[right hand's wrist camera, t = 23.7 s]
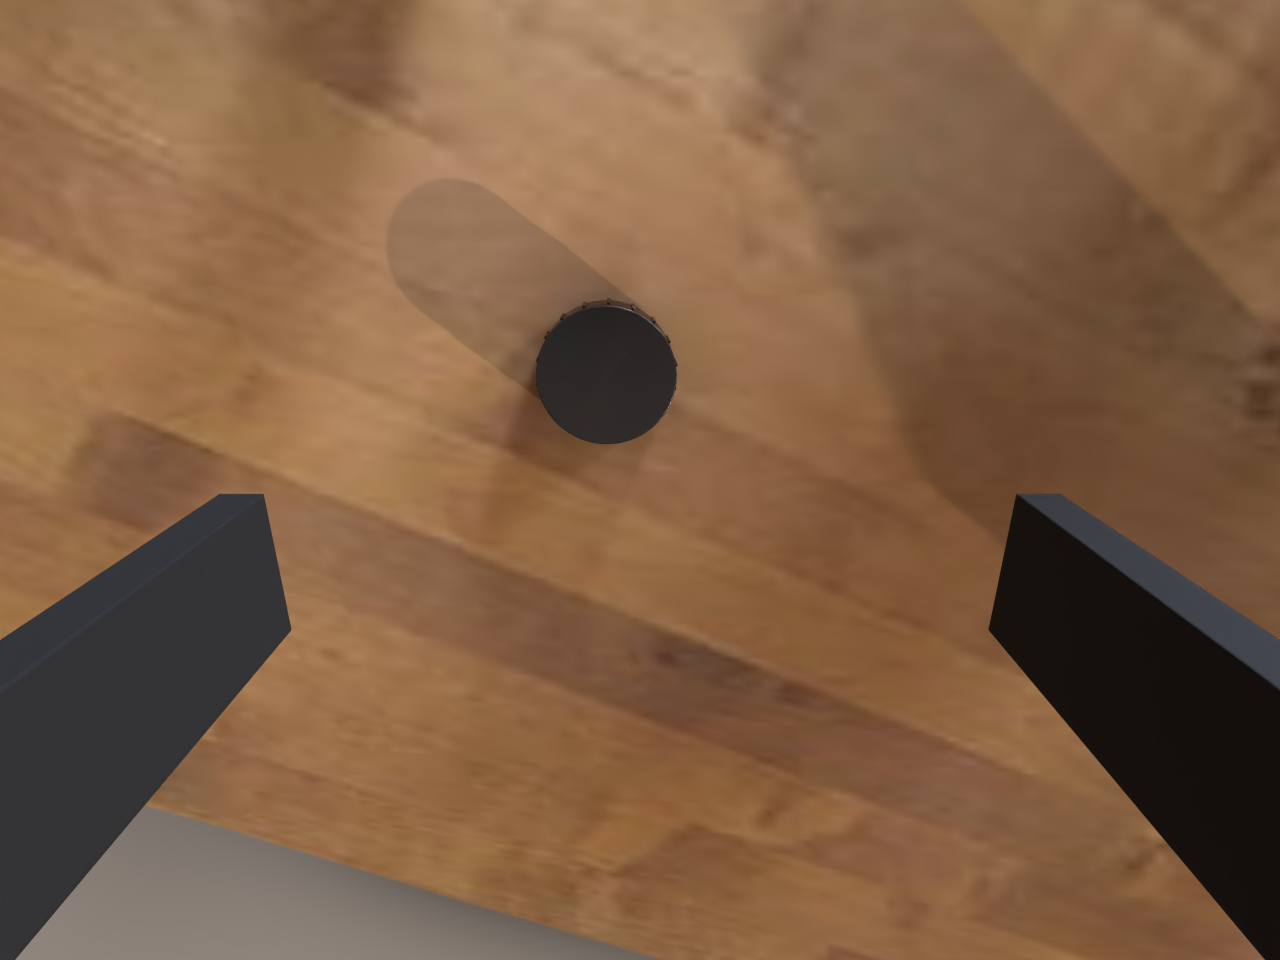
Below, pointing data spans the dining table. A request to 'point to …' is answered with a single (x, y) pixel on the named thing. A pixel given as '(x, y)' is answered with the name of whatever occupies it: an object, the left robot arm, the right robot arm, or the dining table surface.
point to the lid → (606, 372)
